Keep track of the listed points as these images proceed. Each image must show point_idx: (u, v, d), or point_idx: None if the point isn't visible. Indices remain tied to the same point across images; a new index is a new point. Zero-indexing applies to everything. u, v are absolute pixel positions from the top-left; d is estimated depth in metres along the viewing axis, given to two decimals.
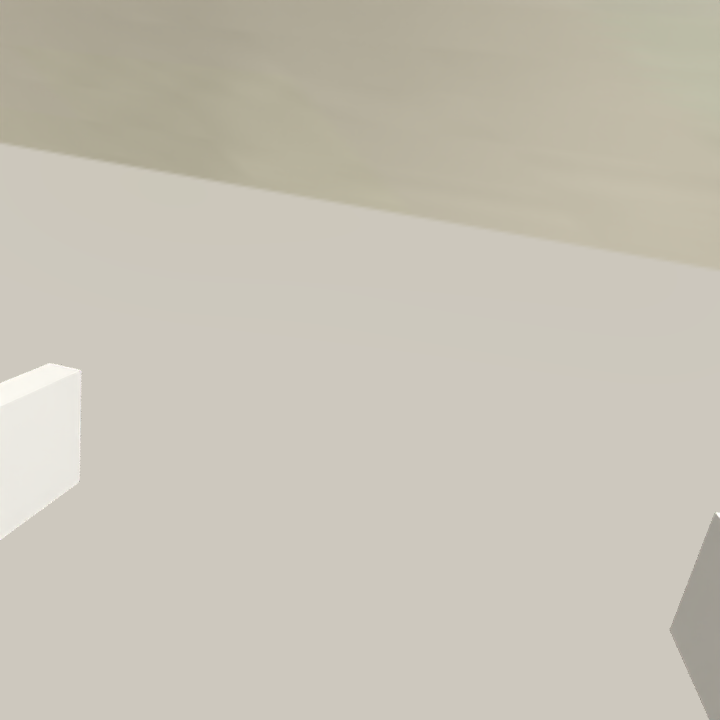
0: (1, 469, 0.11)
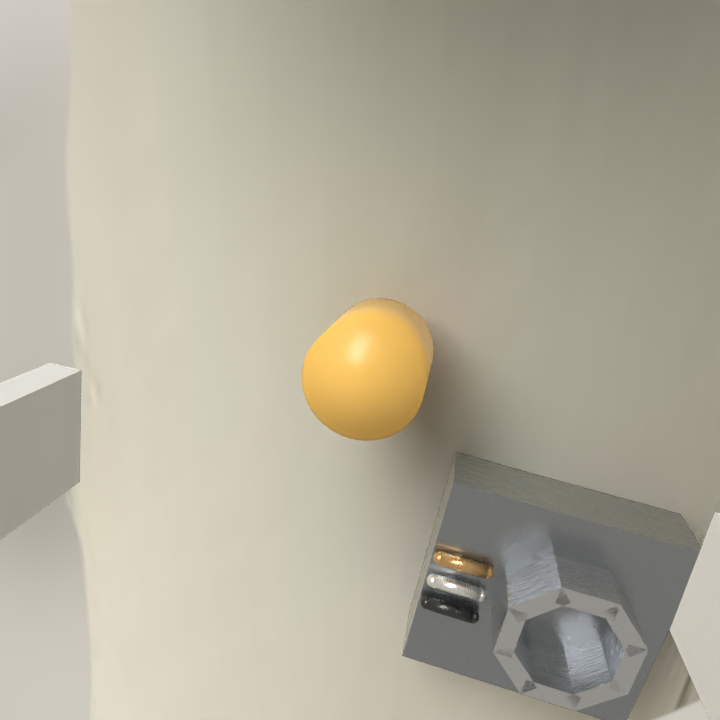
0: (1, 469, 0.11)
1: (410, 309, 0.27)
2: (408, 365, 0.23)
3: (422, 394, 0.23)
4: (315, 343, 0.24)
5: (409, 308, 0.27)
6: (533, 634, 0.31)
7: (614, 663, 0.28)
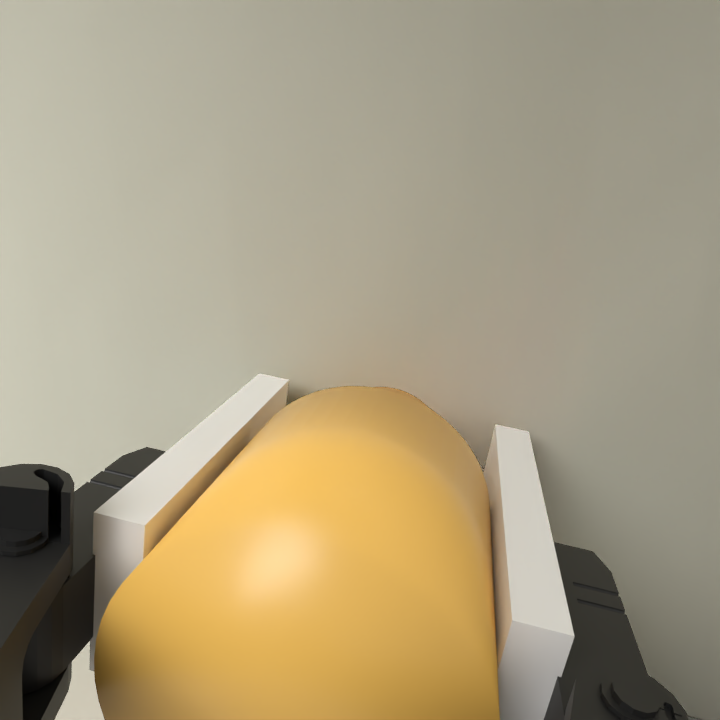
0: None
1: (428, 412, 0.11)
2: (439, 674, 0.07)
3: None
4: (120, 594, 0.07)
5: (425, 410, 0.11)
6: None
7: None
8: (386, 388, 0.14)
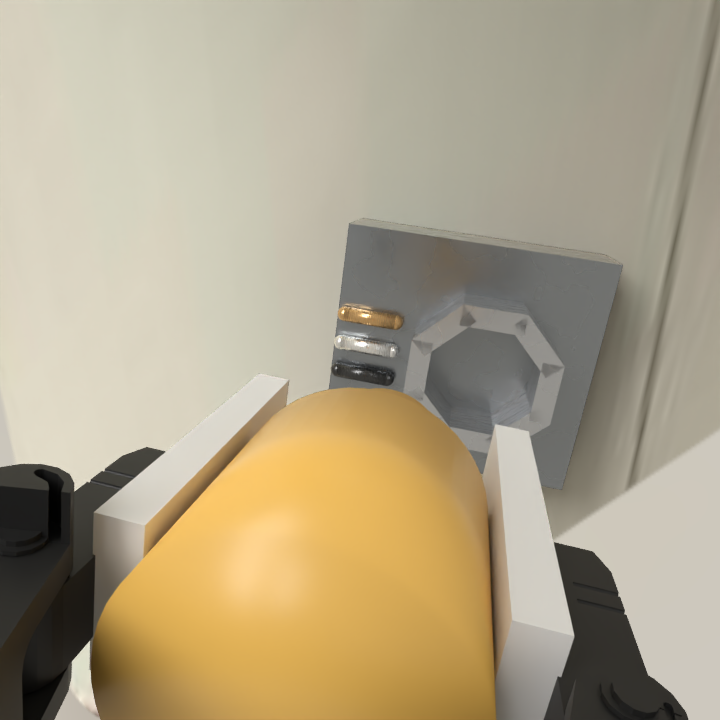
0: None
1: (426, 414, 0.11)
2: (435, 677, 0.06)
3: None
4: (116, 597, 0.07)
5: (423, 412, 0.11)
6: (454, 393, 0.28)
7: (533, 394, 0.26)
8: (384, 389, 0.14)
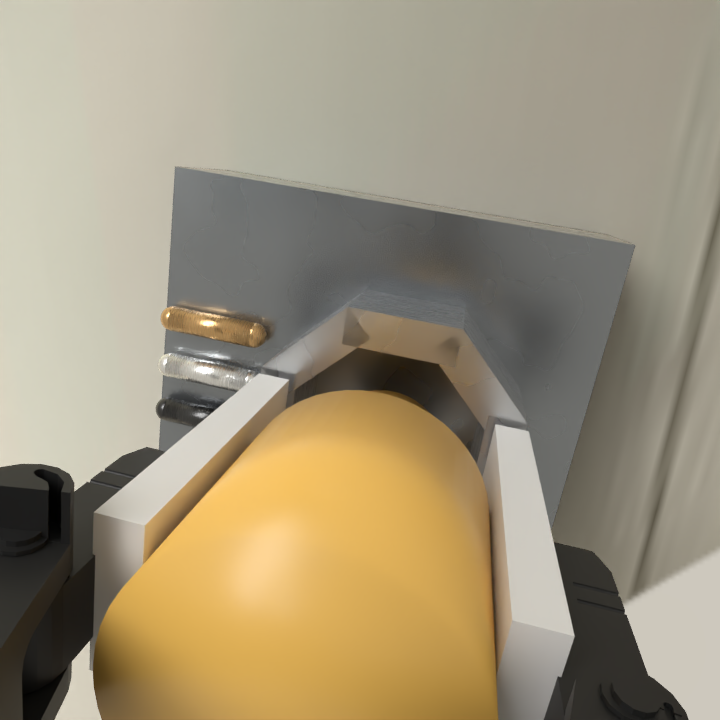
0: None
1: (427, 417, 0.11)
2: (438, 681, 0.07)
3: None
4: (119, 601, 0.07)
5: (424, 414, 0.11)
6: None
7: None
8: (385, 391, 0.14)
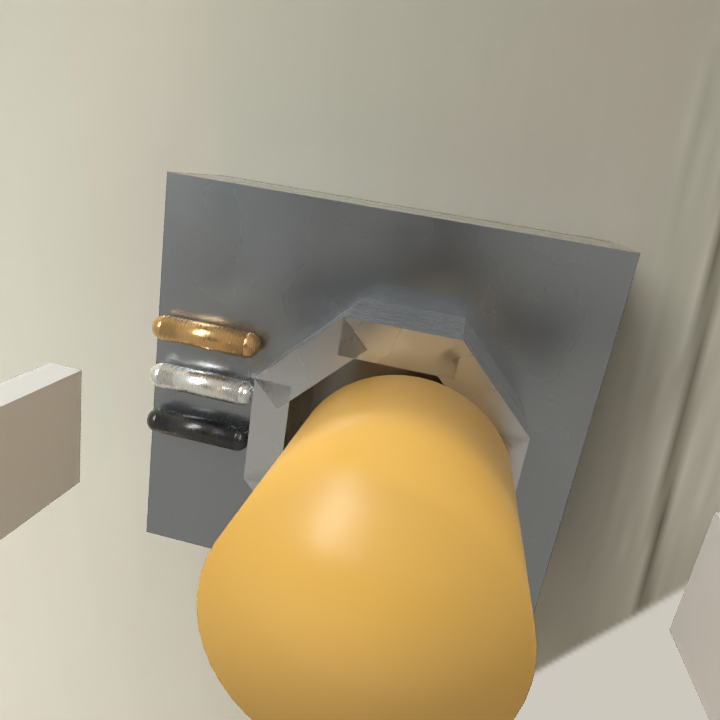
0: (1, 469, 0.11)
1: (460, 397, 0.12)
2: (487, 597, 0.08)
3: (530, 672, 0.08)
4: (224, 537, 0.09)
5: (457, 395, 0.12)
6: None
7: None
8: None
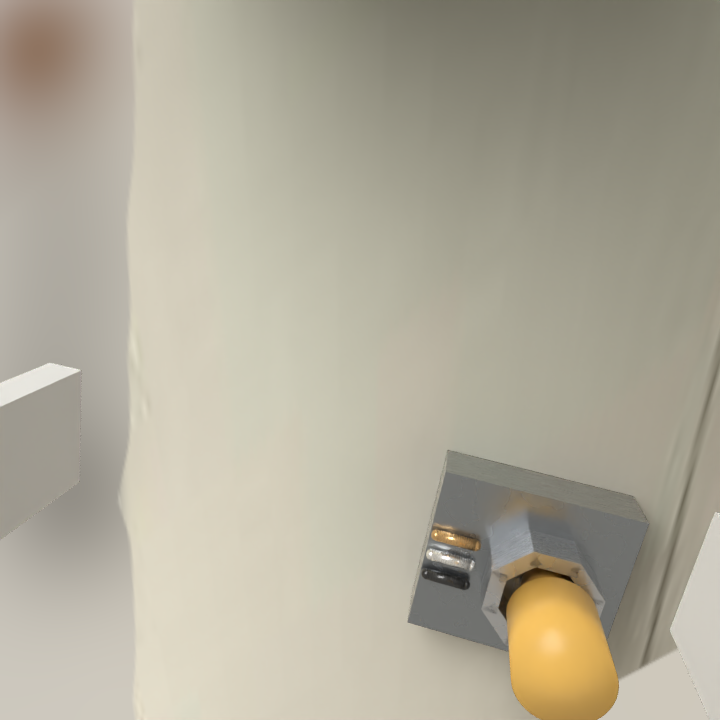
0: (1, 469, 0.11)
1: (580, 589, 0.33)
2: (605, 672, 0.28)
3: (616, 694, 0.28)
4: (525, 651, 0.29)
5: (579, 588, 0.33)
6: None
7: None
8: None
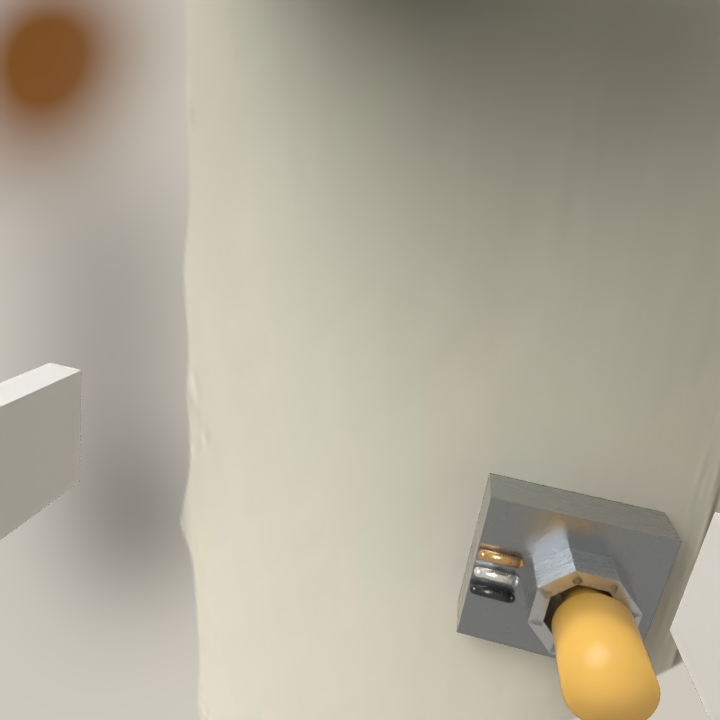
0: (1, 469, 0.11)
1: (619, 603, 0.36)
2: (647, 682, 0.32)
3: (658, 701, 0.32)
4: (574, 664, 0.32)
5: (618, 602, 0.36)
6: None
7: None
8: None
